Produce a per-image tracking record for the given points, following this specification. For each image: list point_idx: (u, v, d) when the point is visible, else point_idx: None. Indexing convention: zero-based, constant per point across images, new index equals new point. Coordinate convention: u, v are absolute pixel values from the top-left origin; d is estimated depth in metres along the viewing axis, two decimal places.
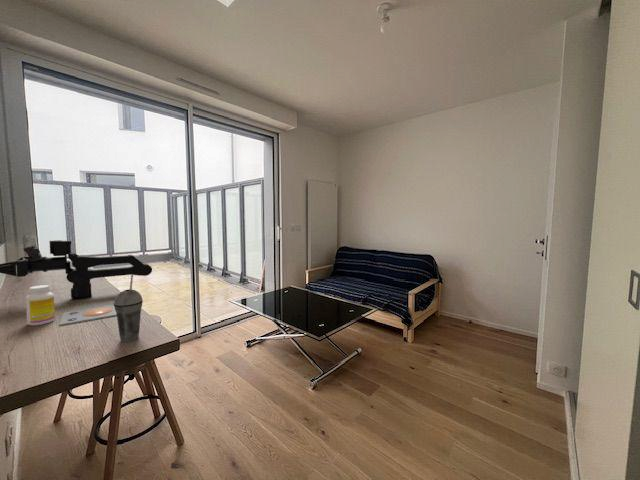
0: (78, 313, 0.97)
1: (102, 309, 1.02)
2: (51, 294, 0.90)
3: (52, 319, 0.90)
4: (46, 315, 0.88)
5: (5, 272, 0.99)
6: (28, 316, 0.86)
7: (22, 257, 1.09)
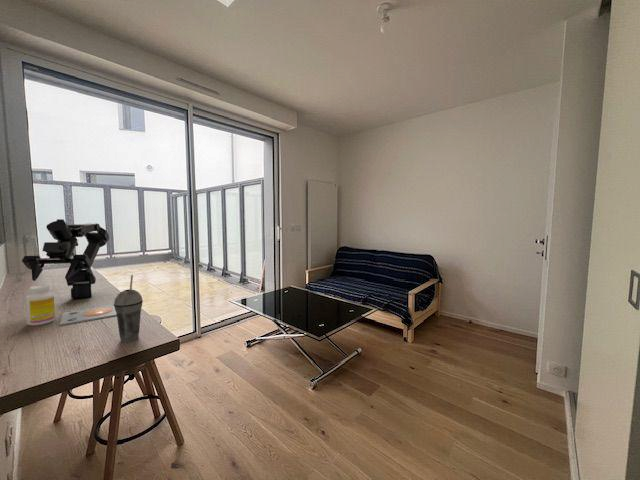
0: (78, 313, 0.97)
1: (102, 309, 1.02)
2: (51, 294, 0.90)
3: (52, 319, 0.90)
4: (46, 315, 0.88)
5: (75, 272, 1.01)
6: (28, 316, 0.86)
7: (32, 260, 0.95)
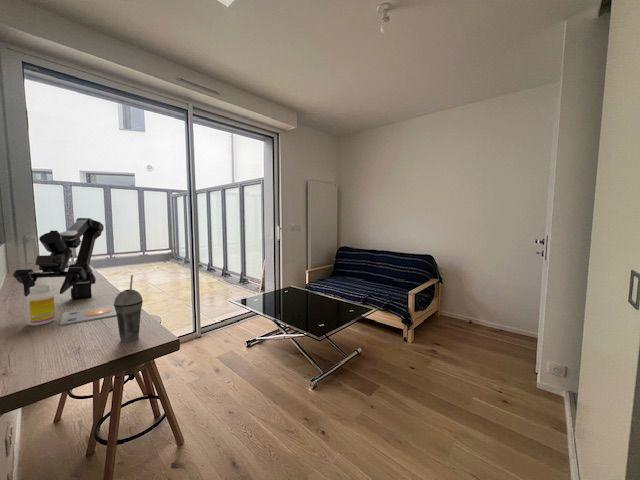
0: (78, 313, 0.97)
1: (102, 309, 1.02)
2: (51, 294, 0.90)
3: (52, 319, 0.90)
4: (46, 315, 0.88)
5: (70, 285, 0.97)
6: (28, 316, 0.86)
7: (25, 275, 0.91)
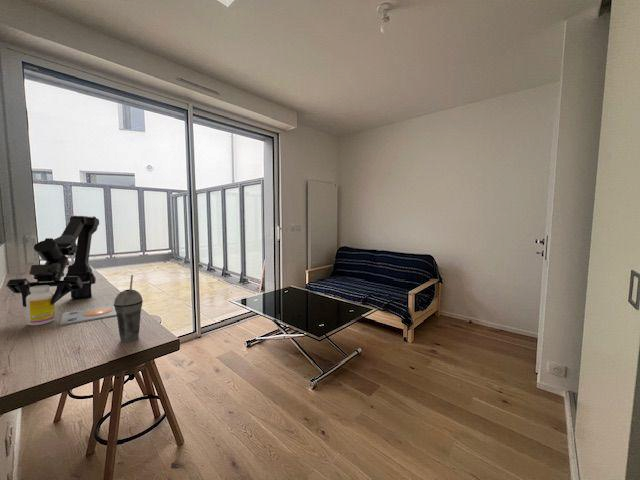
0: (78, 313, 0.97)
1: (102, 309, 1.02)
2: (51, 294, 0.90)
3: (52, 319, 0.90)
4: (46, 315, 0.88)
5: (61, 295, 0.93)
6: (28, 316, 0.86)
7: (23, 284, 0.88)
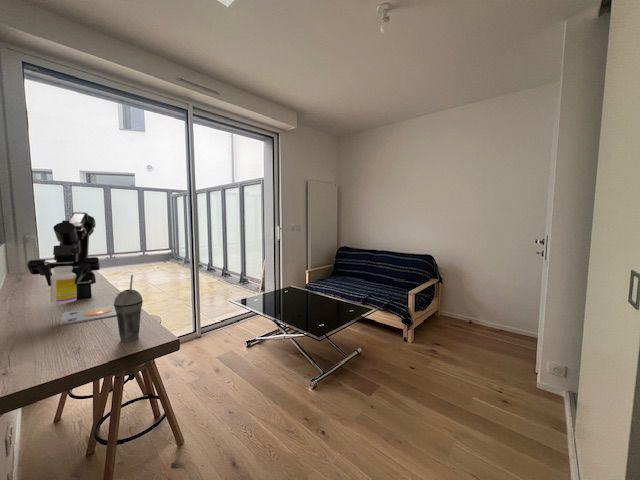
0: (78, 313, 0.97)
1: (102, 309, 1.02)
2: (75, 274, 0.93)
3: (75, 298, 0.94)
4: (71, 294, 0.92)
5: (83, 276, 0.97)
6: (54, 295, 0.89)
7: (45, 265, 0.90)
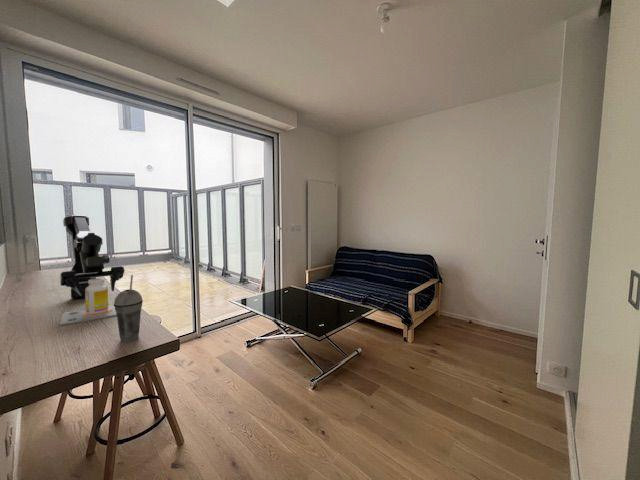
0: (78, 313, 0.97)
1: None
2: None
3: None
4: (106, 304, 0.99)
5: None
6: (91, 306, 0.96)
7: (74, 276, 0.94)
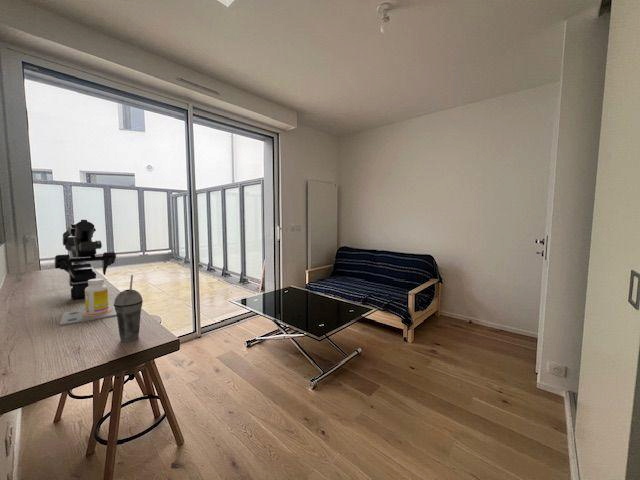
0: (78, 313, 0.97)
1: None
2: None
3: None
4: (106, 304, 0.99)
5: None
6: (91, 306, 0.95)
7: (68, 259, 1.01)
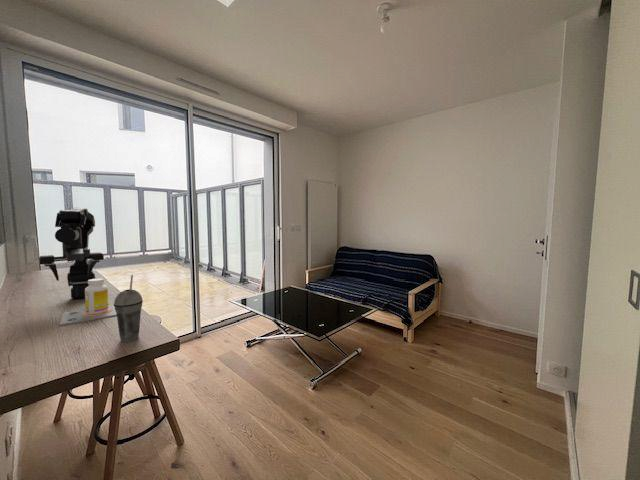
0: (78, 313, 0.97)
1: None
2: None
3: None
4: (106, 304, 0.99)
5: None
6: (91, 306, 0.95)
7: (53, 264, 0.98)
